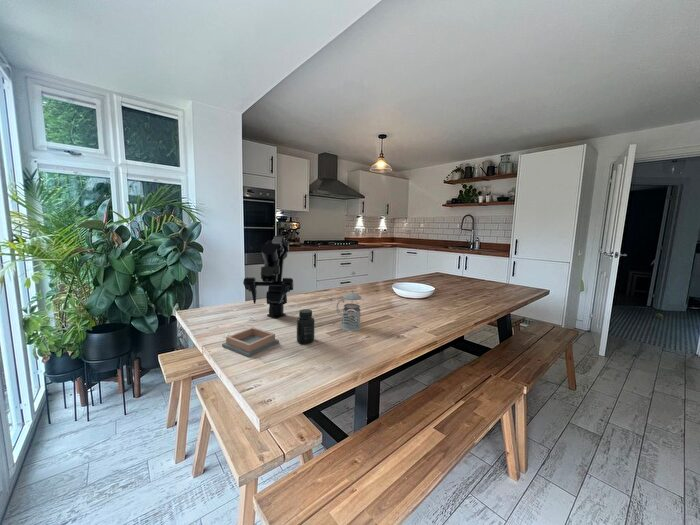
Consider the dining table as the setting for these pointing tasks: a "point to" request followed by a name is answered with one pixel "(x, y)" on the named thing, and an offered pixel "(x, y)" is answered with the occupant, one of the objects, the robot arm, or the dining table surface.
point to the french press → (351, 313)
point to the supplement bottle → (305, 327)
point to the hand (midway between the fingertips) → (266, 303)
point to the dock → (250, 341)
